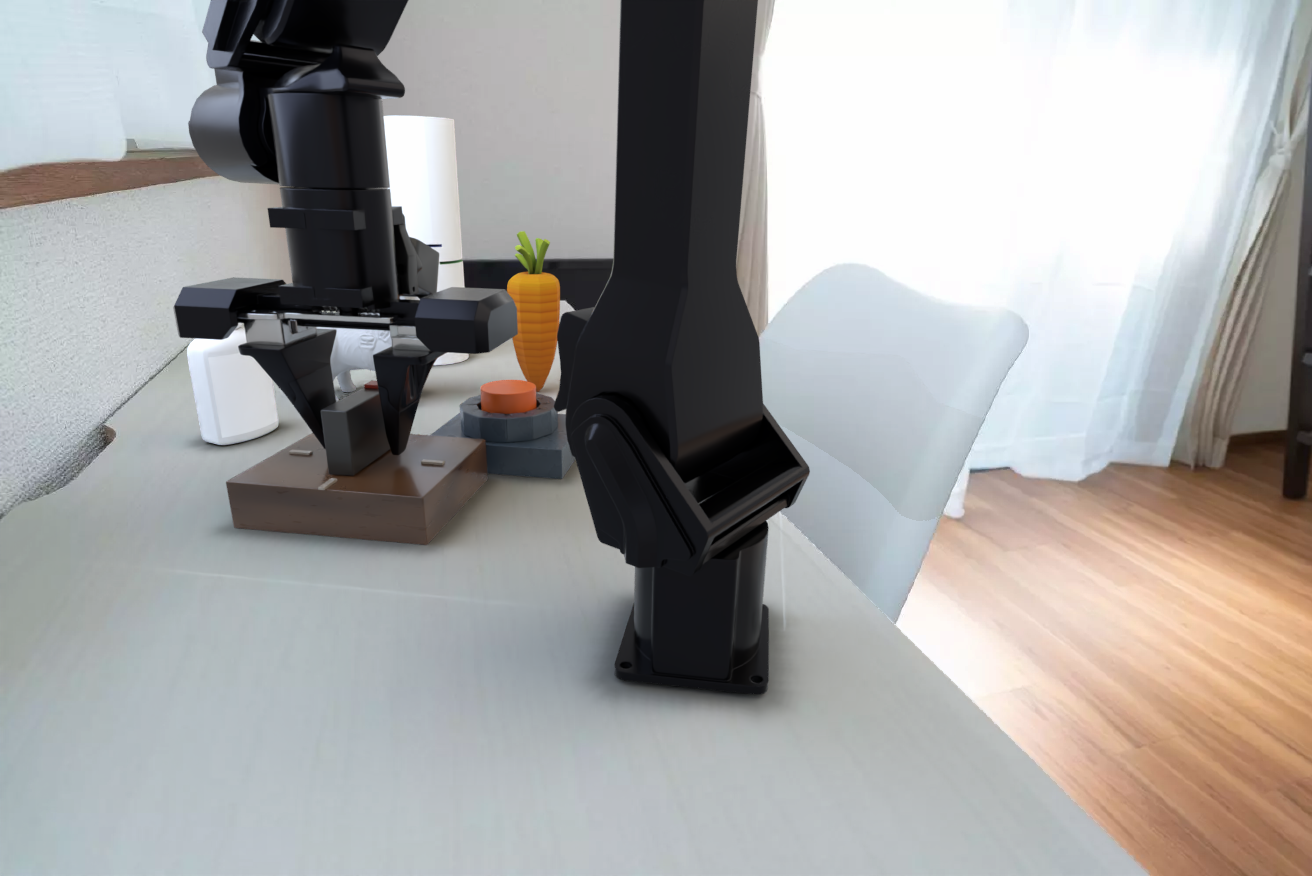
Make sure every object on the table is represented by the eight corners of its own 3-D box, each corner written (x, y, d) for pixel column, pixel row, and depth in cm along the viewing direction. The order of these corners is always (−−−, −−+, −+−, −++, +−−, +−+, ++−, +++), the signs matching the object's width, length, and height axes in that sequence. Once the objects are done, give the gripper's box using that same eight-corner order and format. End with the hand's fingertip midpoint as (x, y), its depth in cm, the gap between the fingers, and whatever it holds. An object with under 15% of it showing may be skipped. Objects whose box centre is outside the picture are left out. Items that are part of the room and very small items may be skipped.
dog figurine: (446, 410, 67) (438, 289, 64) (306, 404, 68) (290, 284, 64) (464, 393, 72) (457, 281, 69) (333, 387, 73) (320, 275, 69)
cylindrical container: (399, 353, 87) (377, 118, 79) (461, 348, 90) (447, 121, 82) (408, 367, 81) (385, 114, 73) (474, 362, 84) (460, 118, 76)
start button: (527, 419, 54) (526, 395, 53) (473, 415, 54) (472, 392, 54) (542, 403, 58) (542, 381, 57) (492, 400, 58) (491, 378, 57)
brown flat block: (426, 546, 43) (421, 495, 42) (232, 529, 45) (223, 479, 43) (488, 479, 53) (486, 436, 52) (327, 466, 54) (321, 424, 53)
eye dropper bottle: (287, 436, 60) (264, 282, 56) (206, 449, 57) (176, 287, 53) (275, 421, 63) (253, 276, 59) (198, 433, 60) (169, 280, 56)
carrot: (568, 396, 72) (566, 234, 67) (517, 401, 70) (510, 234, 65) (555, 383, 76) (552, 229, 71) (506, 387, 75) (499, 230, 70)
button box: (562, 479, 53) (560, 425, 51) (425, 469, 54) (421, 415, 53) (587, 441, 60) (587, 393, 59) (467, 433, 62) (464, 385, 60)
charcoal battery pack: (353, 476, 45) (345, 407, 43) (328, 474, 45) (319, 405, 43) (400, 442, 50) (394, 381, 49) (377, 441, 50) (370, 379, 49)
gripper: (539, 190, 49) (546, 421, 54) (270, 182, 51) (301, 404, 56) (477, 194, 38) (492, 480, 43) (141, 184, 40) (194, 457, 46)
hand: (365, 450), depth 47 cm, fingers open, 4 cm apart
